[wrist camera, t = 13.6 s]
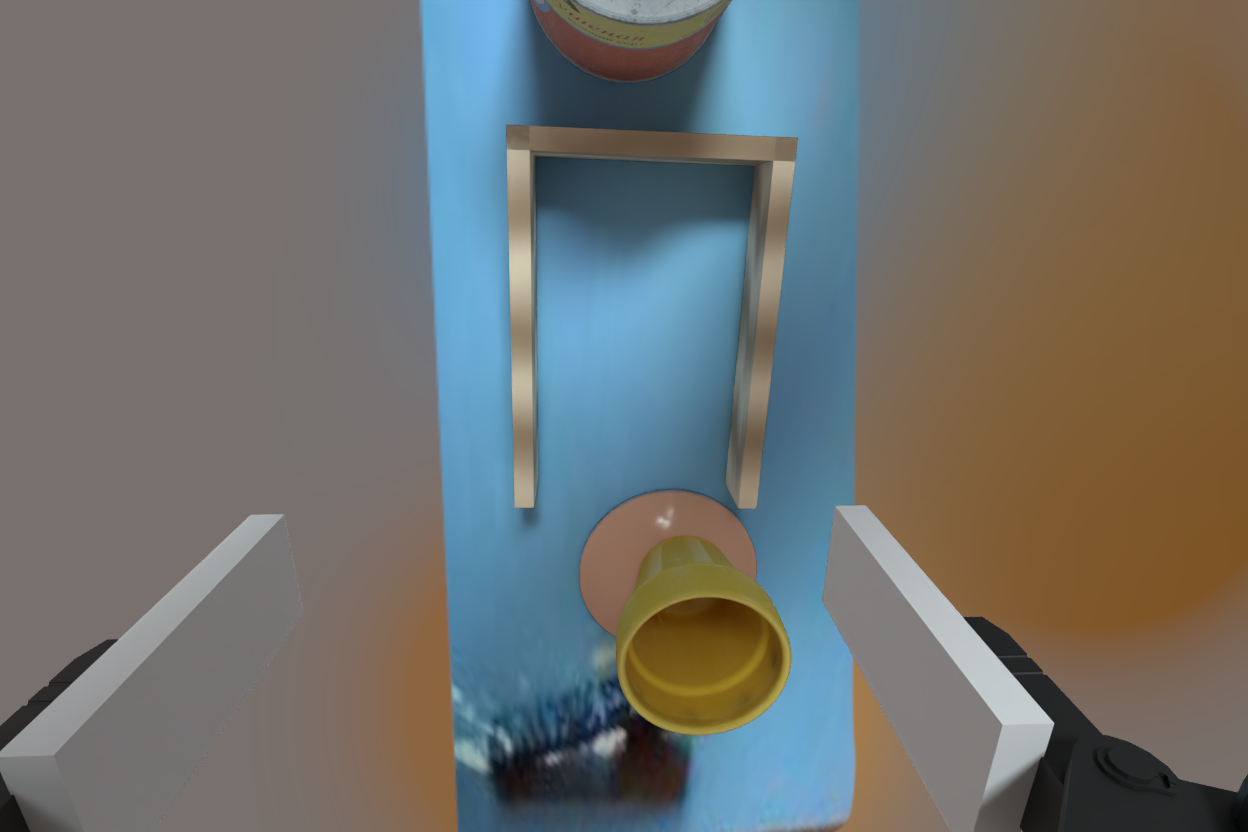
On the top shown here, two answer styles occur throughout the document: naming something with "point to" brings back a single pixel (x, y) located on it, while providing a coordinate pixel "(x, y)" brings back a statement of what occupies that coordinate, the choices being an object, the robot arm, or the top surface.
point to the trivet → (652, 544)
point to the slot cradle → (758, 290)
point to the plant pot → (699, 641)
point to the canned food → (628, 34)
